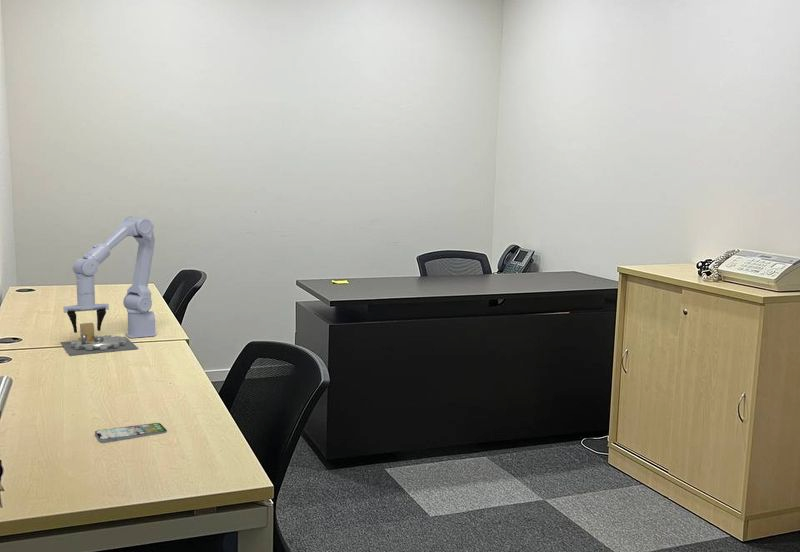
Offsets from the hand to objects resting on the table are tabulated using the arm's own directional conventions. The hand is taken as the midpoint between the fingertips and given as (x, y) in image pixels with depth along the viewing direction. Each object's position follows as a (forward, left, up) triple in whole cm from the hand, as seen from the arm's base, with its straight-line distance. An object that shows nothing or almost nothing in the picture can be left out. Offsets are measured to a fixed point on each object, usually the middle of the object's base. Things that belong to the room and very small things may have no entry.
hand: (87, 331), depth 268 cm
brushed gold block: (0, 0, -2) cm, 3 cm away
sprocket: (-3, +4, -5) cm, 7 cm away
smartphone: (+7, +102, -6) cm, 102 cm away
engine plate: (-3, +4, -5) cm, 7 cm away
